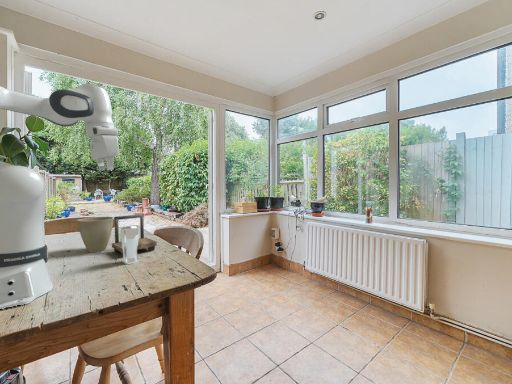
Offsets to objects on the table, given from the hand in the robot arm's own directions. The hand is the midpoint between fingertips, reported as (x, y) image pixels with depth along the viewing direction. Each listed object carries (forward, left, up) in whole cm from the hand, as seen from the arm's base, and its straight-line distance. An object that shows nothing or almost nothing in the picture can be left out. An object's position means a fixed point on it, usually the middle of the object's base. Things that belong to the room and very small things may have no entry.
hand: (106, 170), depth 86 cm
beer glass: (+10, +6, -39) cm, 41 cm away
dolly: (+17, +20, -39) cm, 47 cm away
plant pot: (+5, +36, -39) cm, 53 cm away
